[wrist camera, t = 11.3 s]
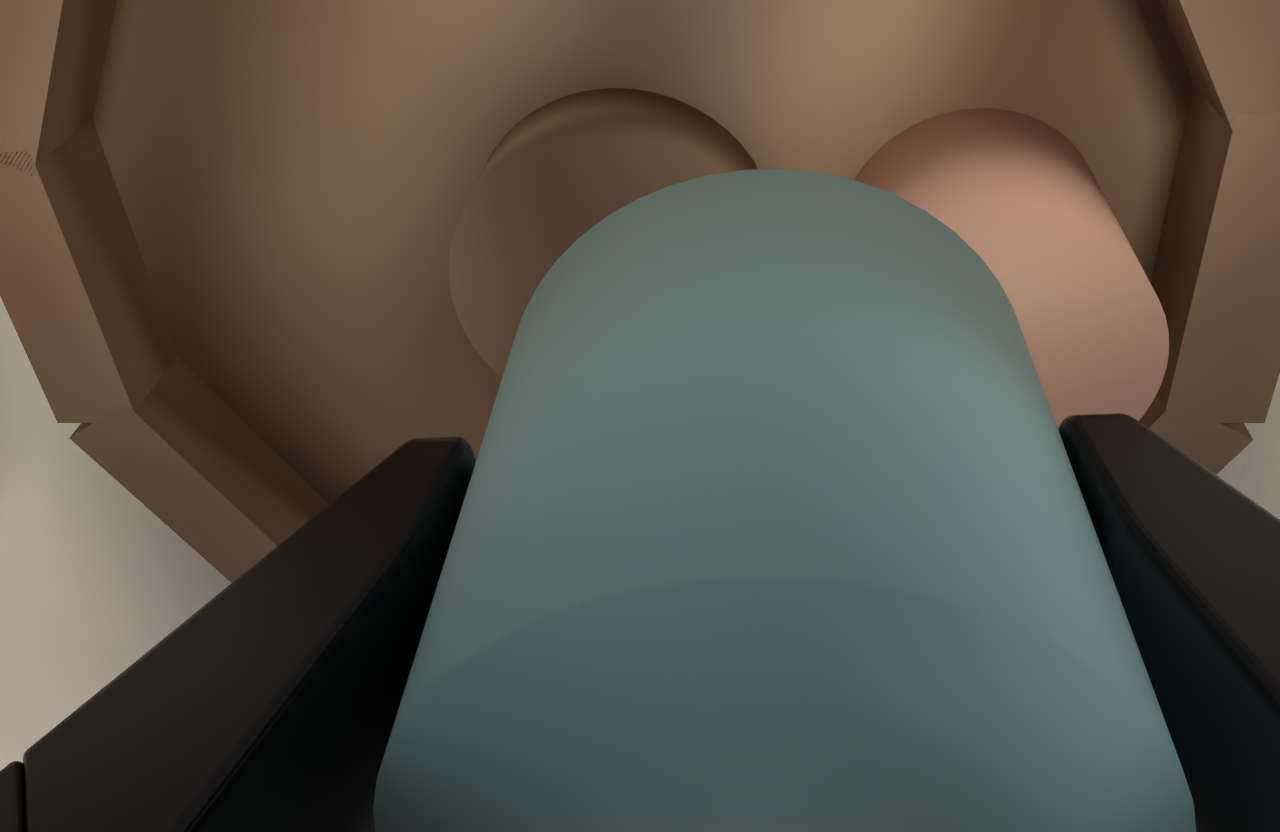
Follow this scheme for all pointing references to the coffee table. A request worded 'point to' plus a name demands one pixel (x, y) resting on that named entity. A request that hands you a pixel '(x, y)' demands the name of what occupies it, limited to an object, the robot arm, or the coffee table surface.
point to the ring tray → (537, 198)
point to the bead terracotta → (1040, 250)
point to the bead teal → (775, 550)
